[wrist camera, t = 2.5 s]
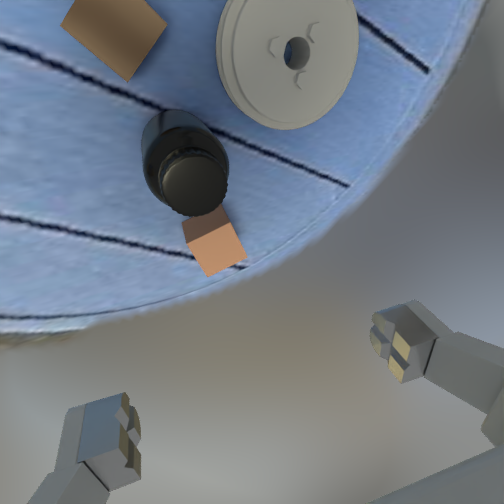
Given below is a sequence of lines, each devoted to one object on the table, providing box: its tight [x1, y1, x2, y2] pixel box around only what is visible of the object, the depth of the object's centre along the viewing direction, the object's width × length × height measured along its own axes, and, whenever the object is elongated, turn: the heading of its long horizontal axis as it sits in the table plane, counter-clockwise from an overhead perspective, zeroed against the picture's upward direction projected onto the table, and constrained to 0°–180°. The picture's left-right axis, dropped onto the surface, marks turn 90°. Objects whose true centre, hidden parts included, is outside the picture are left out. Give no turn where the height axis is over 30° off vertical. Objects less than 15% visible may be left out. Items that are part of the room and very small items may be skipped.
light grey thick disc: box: [216, 0, 359, 130], centre depth 29 cm, size 13×13×5 cm
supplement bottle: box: [141, 110, 229, 217], centre depth 27 cm, size 7×7×12 cm
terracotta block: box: [182, 204, 247, 277], centre depth 36 cm, size 5×5×5 cm
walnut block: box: [60, 0, 168, 82], centre depth 24 cm, size 5×5×5 cm
